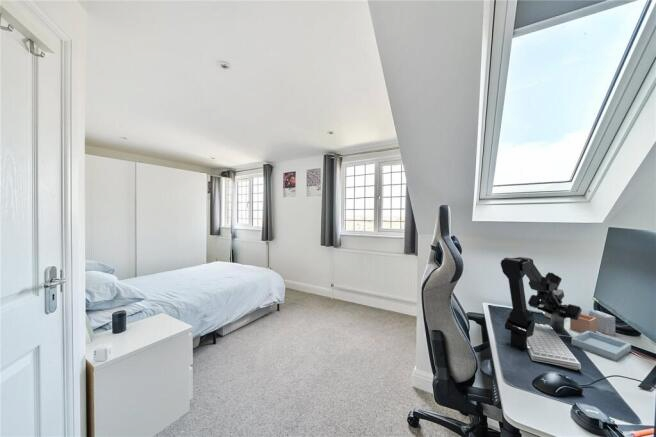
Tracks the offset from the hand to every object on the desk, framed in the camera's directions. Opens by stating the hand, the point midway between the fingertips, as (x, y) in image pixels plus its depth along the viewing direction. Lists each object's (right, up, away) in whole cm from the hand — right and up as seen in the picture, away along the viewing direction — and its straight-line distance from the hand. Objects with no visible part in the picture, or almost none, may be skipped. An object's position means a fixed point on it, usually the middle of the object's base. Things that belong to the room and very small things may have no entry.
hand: (558, 316), depth 120 cm
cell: (-1, -7, 0) cm, 7 cm away
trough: (+2, -7, -17) cm, 18 cm away
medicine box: (+19, -7, -2) cm, 21 cm away
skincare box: (+10, -6, +14) cm, 18 cm away
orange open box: (+10, -7, -2) cm, 12 cm away
